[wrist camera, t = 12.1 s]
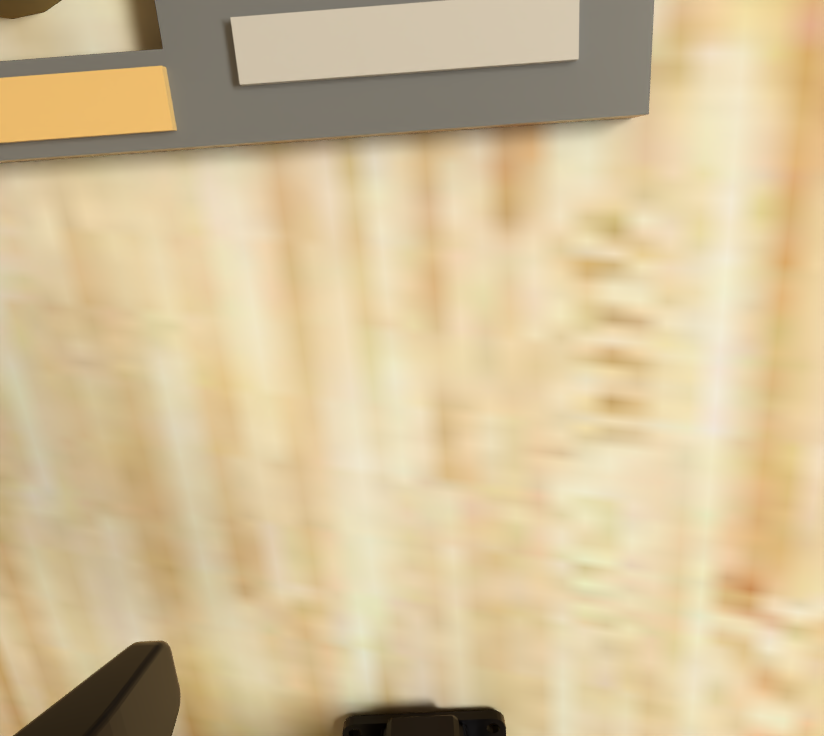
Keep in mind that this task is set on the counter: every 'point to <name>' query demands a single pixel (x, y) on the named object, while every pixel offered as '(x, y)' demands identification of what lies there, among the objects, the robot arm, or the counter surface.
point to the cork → (24, 7)
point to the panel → (332, 74)
